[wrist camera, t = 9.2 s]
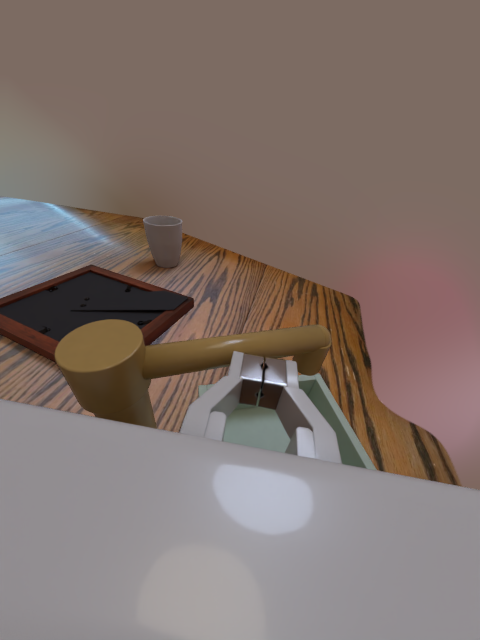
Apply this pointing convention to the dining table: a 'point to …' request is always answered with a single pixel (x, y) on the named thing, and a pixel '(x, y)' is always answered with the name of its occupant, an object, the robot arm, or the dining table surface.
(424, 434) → the dining table surface
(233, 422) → the sink
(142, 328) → the picture frame
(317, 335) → the spout
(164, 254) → the cup
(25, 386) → the dining table surface
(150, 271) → the dining table surface
